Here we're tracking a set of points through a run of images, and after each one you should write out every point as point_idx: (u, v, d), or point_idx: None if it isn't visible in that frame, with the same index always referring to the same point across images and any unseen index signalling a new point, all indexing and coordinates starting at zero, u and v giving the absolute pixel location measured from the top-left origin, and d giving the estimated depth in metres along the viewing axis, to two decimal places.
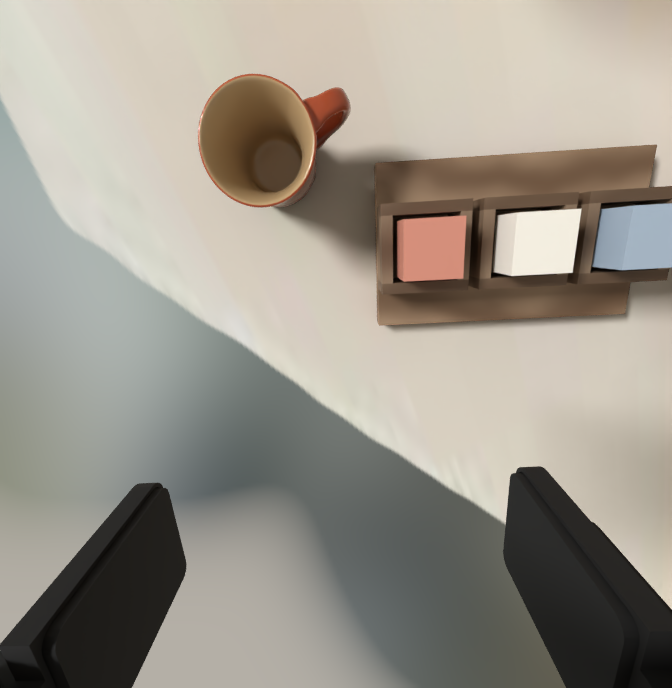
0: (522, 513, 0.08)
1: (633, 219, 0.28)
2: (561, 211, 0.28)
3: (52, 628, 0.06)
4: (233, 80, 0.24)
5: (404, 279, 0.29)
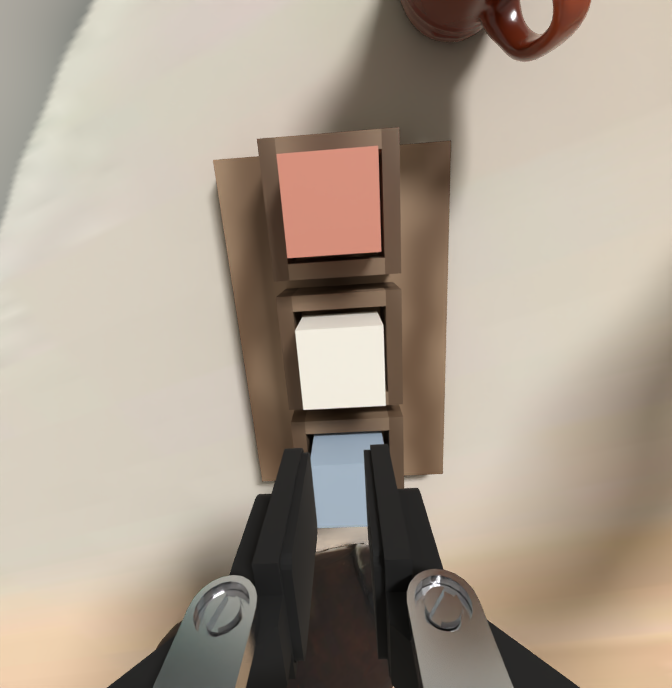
0: None
1: None
2: (382, 382, 0.20)
3: (284, 552, 0.07)
4: None
5: (280, 155, 0.17)
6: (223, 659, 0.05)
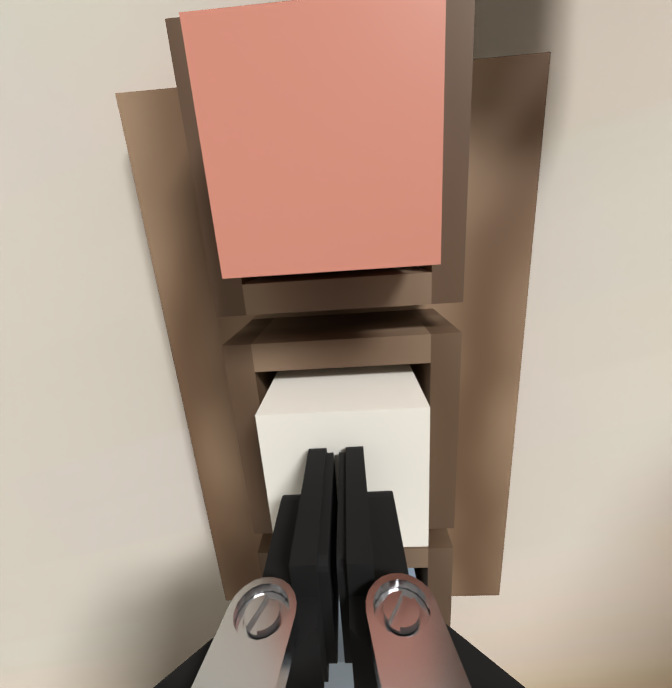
0: None
1: None
2: (424, 507, 0.11)
3: (320, 554, 0.07)
4: None
5: (189, 16, 0.07)
6: (261, 666, 0.05)
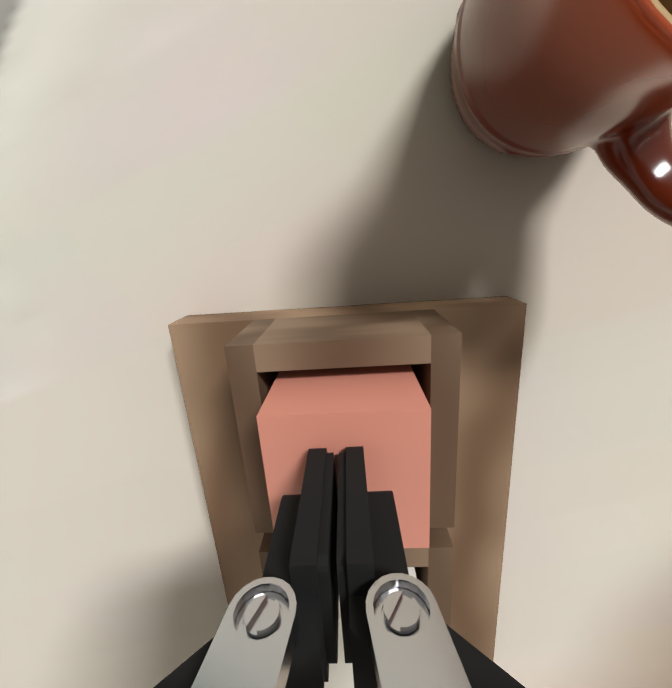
0: None
1: None
2: None
3: (320, 554, 0.07)
4: None
5: (262, 418, 0.10)
6: (261, 665, 0.05)
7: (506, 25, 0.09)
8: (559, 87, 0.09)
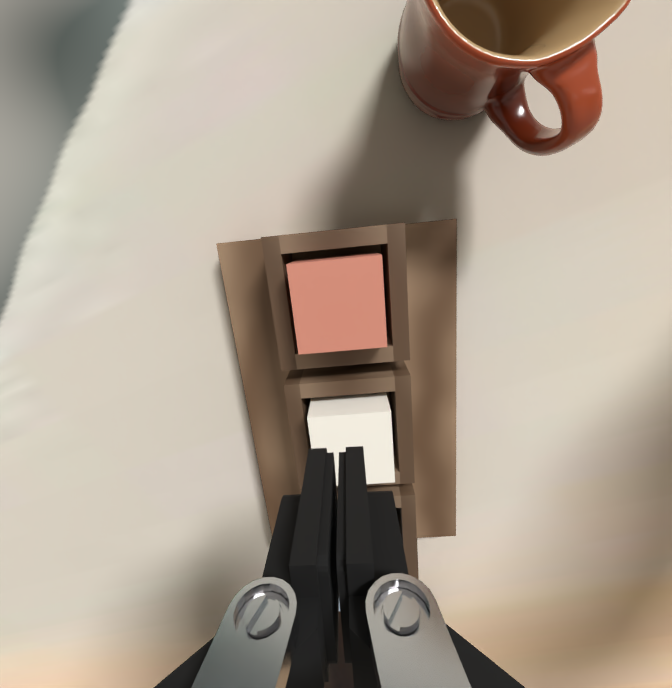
0: None
1: None
2: (391, 461, 0.21)
3: (320, 554, 0.07)
4: None
5: (289, 265, 0.18)
6: (261, 666, 0.05)
7: (416, 38, 0.17)
8: (445, 71, 0.16)
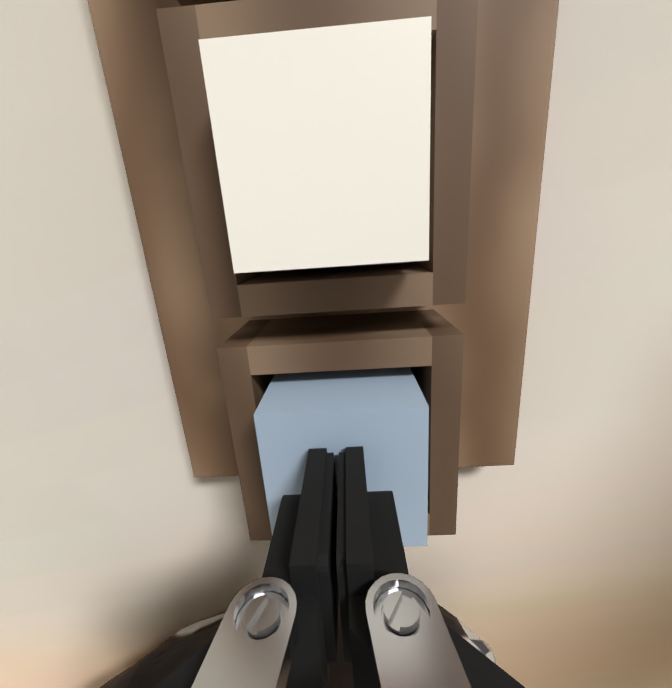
0: None
1: (392, 413, 0.10)
2: (424, 195, 0.08)
3: (320, 554, 0.07)
4: None
5: None
6: (261, 666, 0.05)
7: None
8: None
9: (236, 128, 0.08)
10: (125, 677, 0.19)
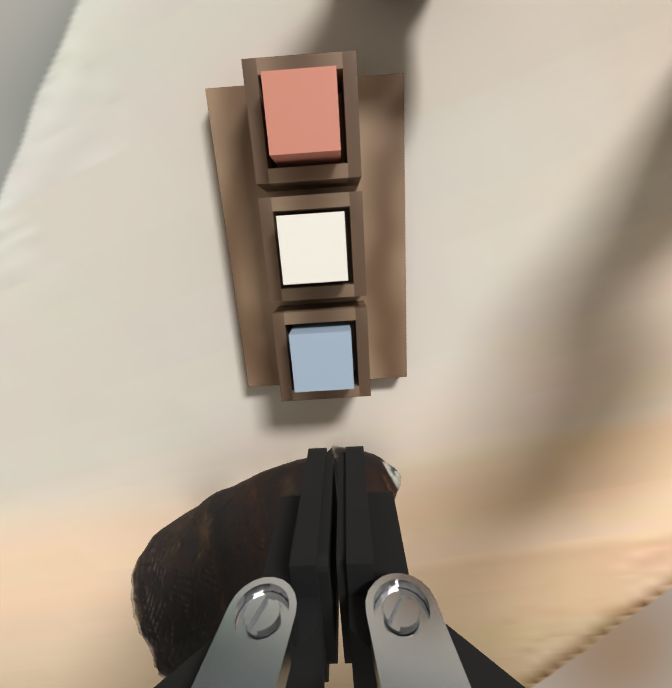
0: None
1: (338, 333, 0.28)
2: (345, 260, 0.26)
3: (320, 554, 0.07)
4: None
5: (263, 72, 0.23)
6: (261, 666, 0.05)
7: None
8: None
9: (286, 240, 0.26)
10: (209, 497, 0.36)
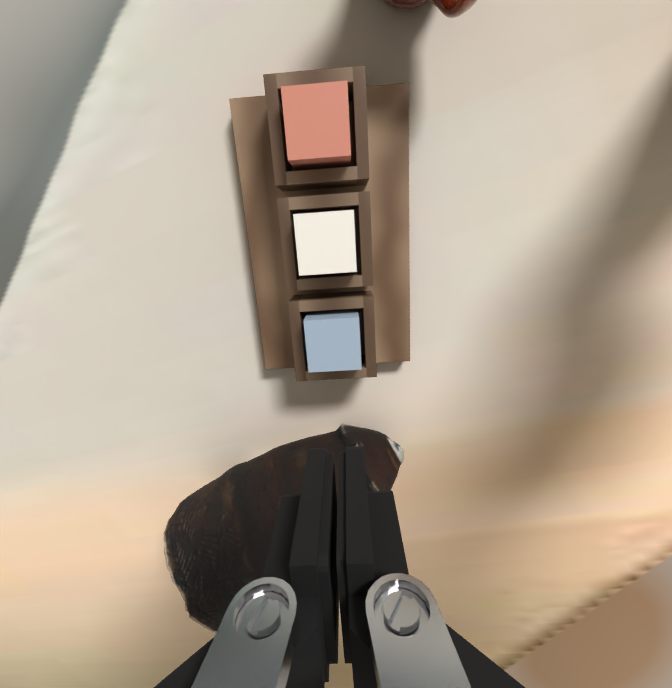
0: None
1: (347, 319, 0.31)
2: (354, 253, 0.29)
3: (320, 554, 0.07)
4: None
5: (283, 87, 0.26)
6: (261, 666, 0.05)
7: None
8: None
9: (301, 235, 0.29)
10: (229, 469, 0.40)
